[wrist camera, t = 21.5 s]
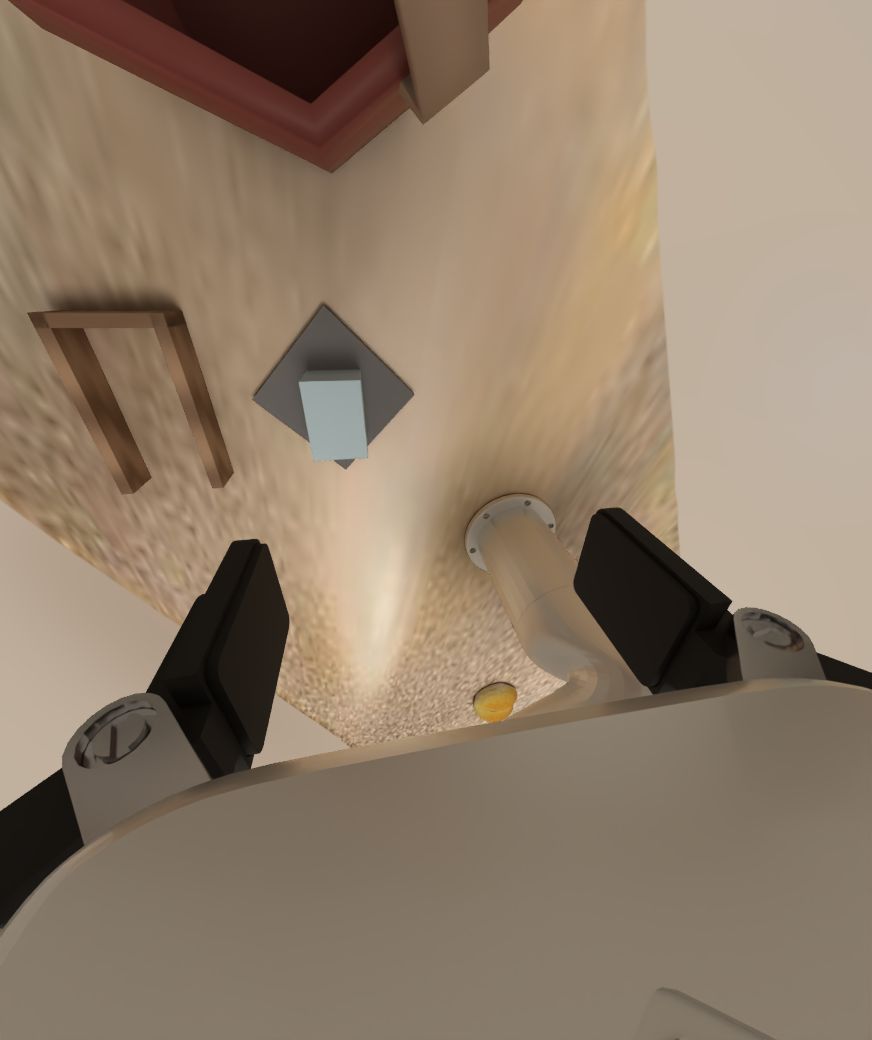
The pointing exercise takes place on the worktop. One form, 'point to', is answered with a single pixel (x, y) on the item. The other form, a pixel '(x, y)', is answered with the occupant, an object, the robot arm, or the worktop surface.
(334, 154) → the bucket
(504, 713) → the bread roll
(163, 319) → the shelf bay
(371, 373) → the mat
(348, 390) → the block
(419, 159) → the worktop surface
